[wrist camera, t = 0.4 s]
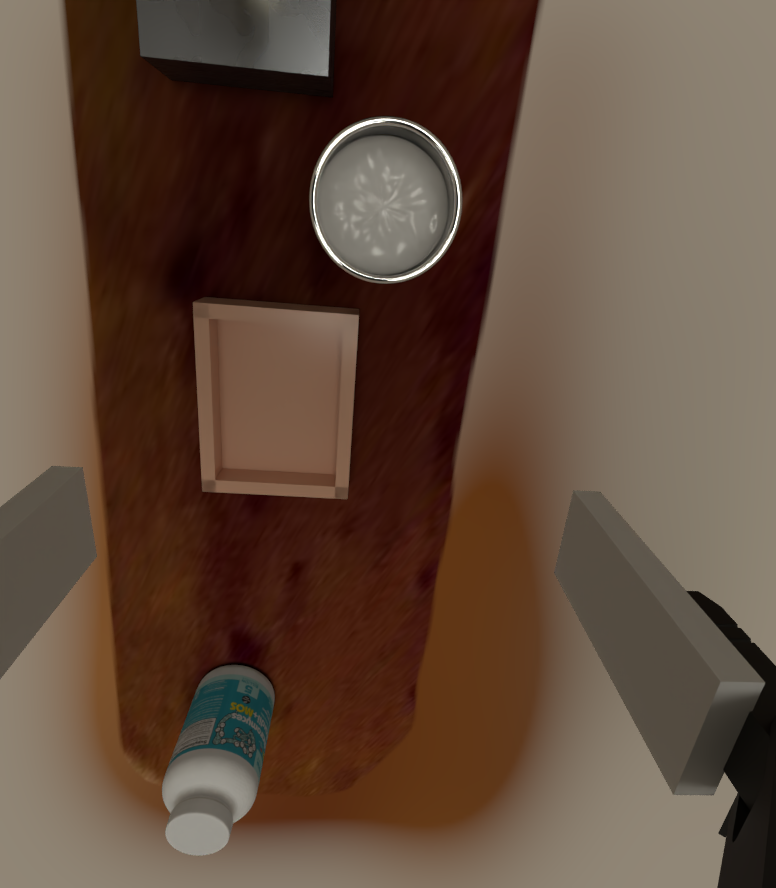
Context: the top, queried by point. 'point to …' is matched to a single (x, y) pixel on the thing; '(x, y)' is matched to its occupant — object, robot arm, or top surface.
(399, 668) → the top surface
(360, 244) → the beer glass
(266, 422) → the pale pink tray
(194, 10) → the grey square block
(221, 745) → the pill bottle
